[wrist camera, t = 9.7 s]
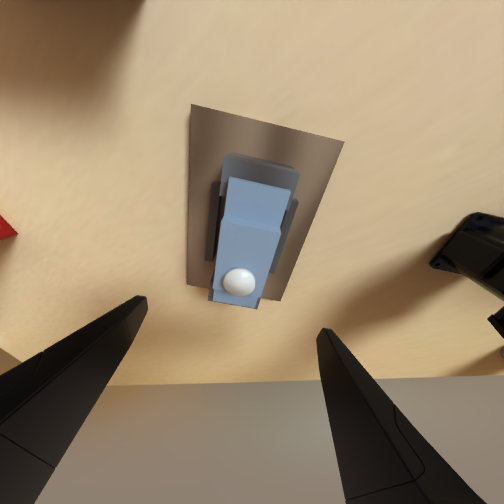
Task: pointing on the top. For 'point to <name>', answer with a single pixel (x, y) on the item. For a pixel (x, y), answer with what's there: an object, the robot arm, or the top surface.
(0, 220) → the baking soda box
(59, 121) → the top surface
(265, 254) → the block
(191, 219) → the pocket board
